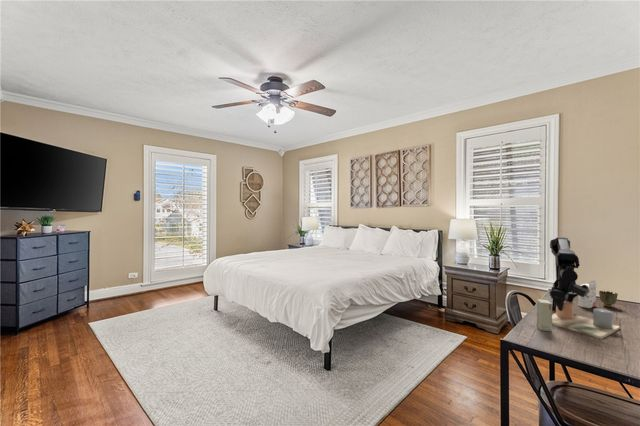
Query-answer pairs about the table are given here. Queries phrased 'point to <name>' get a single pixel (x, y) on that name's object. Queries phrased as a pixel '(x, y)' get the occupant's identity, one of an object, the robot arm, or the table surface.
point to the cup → (608, 298)
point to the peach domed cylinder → (566, 310)
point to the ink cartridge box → (588, 296)
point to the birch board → (583, 326)
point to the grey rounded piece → (603, 318)
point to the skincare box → (544, 315)
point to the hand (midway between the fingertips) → (564, 309)
